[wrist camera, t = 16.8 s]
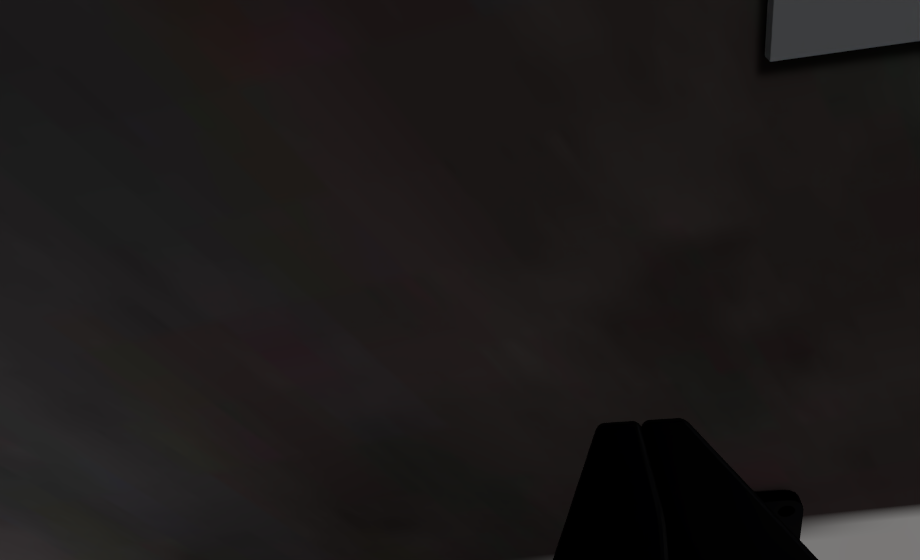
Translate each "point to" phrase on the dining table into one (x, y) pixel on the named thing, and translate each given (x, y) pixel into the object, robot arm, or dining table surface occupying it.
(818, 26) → the mat
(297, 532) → the dining table surface
